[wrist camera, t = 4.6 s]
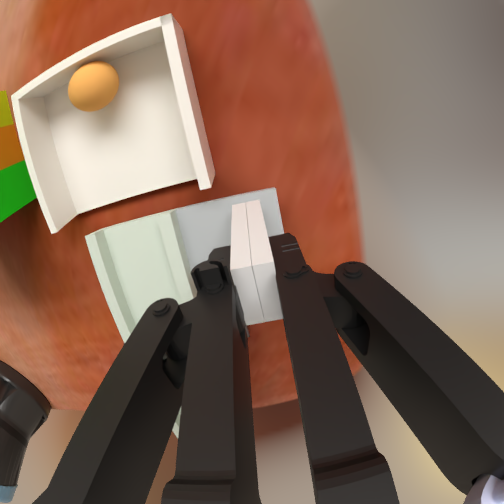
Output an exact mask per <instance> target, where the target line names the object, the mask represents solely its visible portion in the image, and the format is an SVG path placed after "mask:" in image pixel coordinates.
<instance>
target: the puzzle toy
mask: <svg viewBox="0 0 504 504" xmlns="http://www.w3.org/2000/svg"><path fill="white" fill-rule="evenodd" d="M36 198H37V196H36V193H35V190H34V187H33V184H32V181H31V178H30V175H29V171H28V168H27V165H26V161H25V159H24V156H23V153H22V150H21V147H20V144H19V140H18V137H17V134H16V130H15V127H14V123H13V119H12V115H11V112H10V107H9V103H8V99H7V94H6V91H0V223H1V222H2V221H4V220H5V219H6V218H8V217H9V216H10V215H12V214H13V213H15V212H16V211H18V210H19V209H21V208H22V207H24V206H25V205H27V204H28V203H30V202H31V201H33V200H34V199H36Z"/></svg>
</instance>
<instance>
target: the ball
mask: <svg viewBox="0 0 504 504" xmlns="http://www.w3.org/2000/svg"><path fill="white" fill-rule="evenodd" d="M118 87H119V76H118V73H117V71H116V70H115V68H114V67H113V66H112V65H110V64H108V63H106V62H103V61H93V62H89V63H87V64H85V65H83V66H81V67H80V68H79V69H78V70H77V71H76V72H75V73H74V74H73V76H72V78H71V80H70V82H69V86H68V96H69V99H70V101H71V103H72V104H73V105H74V106H75V107H76V108H77V109H79V110H82V111H86V112H92V111H97V110H100V109H102V108H104V107H105V106H107V105H108V104H109V103H110V102H111V101H112V100H113V98H114V97H115V95H116V93H117V91H118Z"/></svg>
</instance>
